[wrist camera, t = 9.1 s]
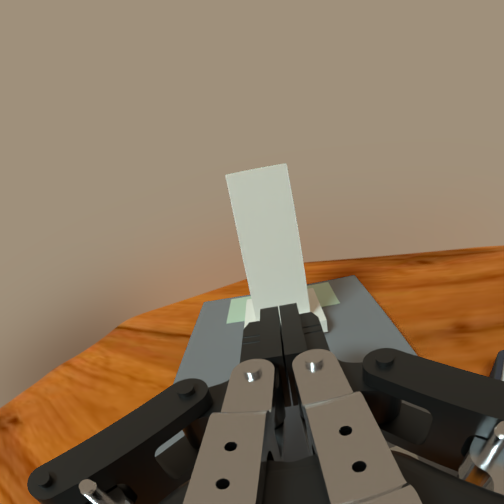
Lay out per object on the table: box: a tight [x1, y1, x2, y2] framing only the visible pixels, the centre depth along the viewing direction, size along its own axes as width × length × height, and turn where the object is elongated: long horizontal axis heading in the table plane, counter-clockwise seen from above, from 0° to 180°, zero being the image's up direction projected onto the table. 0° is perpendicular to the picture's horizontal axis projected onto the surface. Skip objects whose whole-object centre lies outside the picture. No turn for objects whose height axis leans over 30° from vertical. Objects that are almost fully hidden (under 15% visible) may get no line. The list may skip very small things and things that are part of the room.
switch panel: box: [155, 275, 458, 477], centre depth 18 cm, size 16×26×2 cm, turn 179°
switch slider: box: [225, 164, 328, 332], centre depth 22 cm, size 6×6×12 cm
